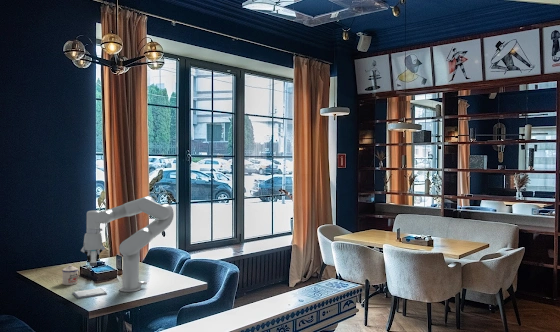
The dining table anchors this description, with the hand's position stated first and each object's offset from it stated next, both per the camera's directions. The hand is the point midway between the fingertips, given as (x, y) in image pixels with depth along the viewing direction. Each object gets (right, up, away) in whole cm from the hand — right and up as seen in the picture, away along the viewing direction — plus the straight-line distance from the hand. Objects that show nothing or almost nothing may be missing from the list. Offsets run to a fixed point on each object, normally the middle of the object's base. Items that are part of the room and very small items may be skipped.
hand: (93, 261), depth 282 cm
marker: (0, -3, 0) cm, 3 cm away
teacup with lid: (-19, -17, +13) cm, 28 cm away
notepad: (+2, -17, -9) cm, 20 cm away
